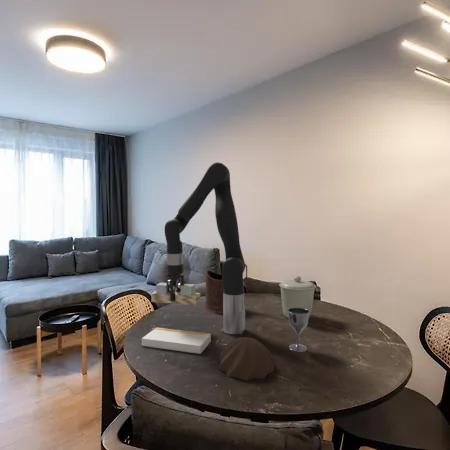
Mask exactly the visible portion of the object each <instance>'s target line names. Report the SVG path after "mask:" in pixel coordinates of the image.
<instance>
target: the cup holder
mask: <svg viewBox="0 0 450 450" xmlns="http://www.w3.org/2000/svg"><path fill="white" fill-rule="evenodd" d="M247 283H248V265H247V264H246V263H245V281H244V282H243V286H244V287H245V285H246V284H247ZM203 310H204V311H206V312H209V313H212V314H223V286H222V273H216V272H213V271H212V270H205V302H204V305H203Z"/></svg>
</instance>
